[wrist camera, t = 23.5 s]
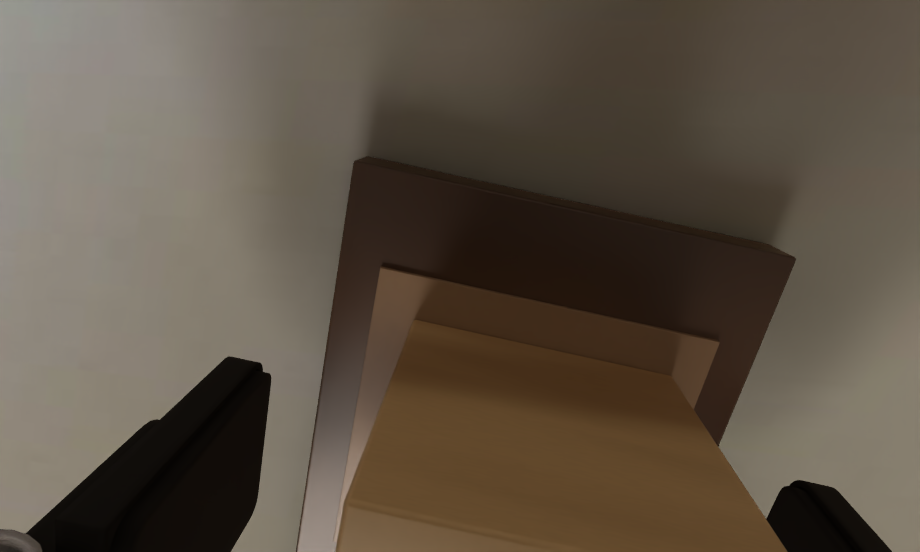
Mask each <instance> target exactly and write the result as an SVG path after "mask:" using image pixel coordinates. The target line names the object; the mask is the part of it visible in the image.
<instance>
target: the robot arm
mask: <svg viewBox="0 0 920 552" xmlns="http://www.w3.org/2000/svg"><path fill="white" fill-rule="evenodd" d="M270 387H271V375H270V373H265V372H263V368H262V365H261V363H258V362H253V361H249V360H244V359H240V358H235V357H227V358H225V359H224V360H223V361H222V362H221V363H220V364H219V365H218V366H217V367H216V368H215V369H213V370H212V371H211V372H210V373H209V374H208V375H207V376H206V377H205V378H204V379H203V380H202V381H201V382H200V383H199V384H198V385H196V386H195V387H194V388H193V389H192V390H191V391H190V392H189V393H188V394H187V395H186V396H185V397H184V398H183V399H182V400H181V401H180V402H178V403H177V404H176V405H175V406H174V407H173V408H172V409H171V410H170V411H169V412H168V413H167V414H166V415H165V416H164V417H163V418H161V419H160V420H152V421H150V422H148V423H147V424H145V425H144V426H143V427H142V428H140V429H139V430H138V431H137V432H136V433H135V434H134V435H133V436H132V437H131V438H130V439H128V440H127V441H126V442H125V443H124V444H123V445H122V446H121V447H120V448H119V449H118V450H116V451H115V452H114V453H113V454H112V455H111V456H110V457H109V458H108V459H107V460H106V461H104V462H103V463H102V464H101V465H100V466H99V467H98V468H97V469H96V470H95V471H93V472H92V473H91V474H90V475H89V476H88V477H87V478H86V479H85V480H84V481H83V482H81V483H80V484H79V485H78V486H77V487H76V488H75V489H74V490H73V491H72V492H71V493H69V494H68V495H67V496H66V497H65V498H64V499H63V500H62V501H61V502H60V503H59V504H57V505H56V506H55V507H54V508H53V509H52V510H51V511H50V512H49V513H48V514H47V515H45V516H44V517H43V518H42V519H41V520H40V521H39V522H38V523H37V524H36V525H34V526H33V527H32V528H31V529H30V530H29V531H28V532H27V533H26V534H24V533H21V532H18V531H15V530H5V529H0V552H231V550H232V549H233V547H234V545H235V543H236V542H237V540H238V538H239V537H240V535H241V533H242V532H243V530H244V528H245V526H246V525H247V523H248V521H249V520H250V518H251V516H252V514H253V511H254V508H255V506H256V502H257V498H258V490H259V482H260V473H261V464H262V456H263V447H264V438H265V430H266V421H267V412H268V404H269V395H270ZM766 520H767V521H768V523H769V524H770V526H771V527H772V529H773V531H774V532H775V534H776V535H777V537H778V538H779V540H780V541H781V543H782V544H783V546H784V547H785V549H786V550H787V552H892V551H891V550H890V549H889V548H888V547H887V545H886V544H885V543H884V542H883V541H882V540H881V539H880V538H879V536H878V535H877V534H876V533H875V532H874V531H873V530H872V529H871V528H870V526H869V525H868V524H867V523H866V522H865V521H864V520H863V519H862V517H861V516H860V515H859V514H858V513H857V512H856V511H855V510H854V508H853V507H852V506H851V505H850V504H849V503H848V502H847V501H846V500H845V498H844V497H843V496H842V495H841V494H840V493H839V492H838V491H837V490H836V489H834V488H832V487H829V486H824V485H820V484H815V483H811V482H806V481H801V480H797V481H794V482H793V483H791V484H790V486H785V487H783V488H782V489H781V490H780V492H779V494H778V496H777V498H776V500H775V502H774V504H773V506H772V509H771V511H770V513H769V515H768V517H767V519H766Z"/></svg>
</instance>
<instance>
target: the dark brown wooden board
mask: <svg viewBox="0 0 920 552" xmlns="http://www.w3.org/2000/svg"><path fill="white" fill-rule="evenodd" d="M795 261H796V258H795V257H793V256H791V255H789V254H787V253H785V252H783V251H781V250H779V249H777V248H775V247H773V246H771V245H769V244H764V243H760V242H755V241H751V240H746V239H742V238H737V237H733V236H728V235H723V234H719V233H714V232H710V231H705V230H701V229H696V228H692V227H687V226H683V225H678V224H674V223H669V222H665V221H660V220H655V219H651V218H646V217H642V216H637V215H633V214H628V213H624V212H619V211H615V210H610V209H606V208H601V207H597V206H592V205H587V204H583V203H578V202H574V201H569V200H565V199H560V198H556V197H551V196H547V195H542V194H538V193H533V192H529V191H524V190H519V189H515V188H510V187H506V186H501V185H497V184H492V183H488V182H483V181H479V180H474V179H470V178H465V177H461V176H456V175H451V174H447V173H442V172H438V171H433V170H429V169H424V168H420V167H415V166H411V165H406V164H402V163H397V162H393V161H388V160H383V159H379V158H374V157H370V156H366V157H364V158H361V159H358V160H356V161H354V163H353V170H352V177H351V184H350V190H349V197H348V204H347V211H346V217H345V224H344V231H343V238H342V244H341V251H340V258H339V265H338V271H337V278H336V285H335V292H334V298H333V305H332V312H331V319H330V325H329V332H328V339H327V346H326V352H325V359H324V366H323V372H322V379H321V386H320V393H319V399H318V406H317V413H316V420H315V426H314V433H313V440H312V447H311V453H310V460H309V467H308V474H307V480H306V487H305V494H304V501H303V507H302V514H301V521H300V528H299V534H298V541H297V548H296V552H335V550H336V545H337V539H338V533H339V528H340V522H341V516H342V511H343V505H344V501H345V498H346V495H347V493H348V490H349V487H350V485H351V482H352V480H353V477H354V474H355V472H356V469H357V466H358V464H359V461H360V459H361V456H362V453H363V451H364V448H365V445H366V443H367V440H368V438H369V435H370V432H371V430H372V427H373V424H374V422H375V419H376V417H377V414H378V411H379V409H380V406H381V403H382V401H383V398H384V396H385V393H386V390H387V388H388V385H389V382H390V380H391V377H392V375H393V372H394V369H395V367H396V364H397V361H398V359H399V356H400V353H401V351H402V348H403V346H404V343H405V340H406V338H407V335H408V332H409V330H410V327H411V325H412V322H413V321H414V320H419V321H424V322H428V323H433V324H437V325H442V326H447V327H451V328H456V329H460V330H465V331H469V332H474V333H478V334H483V335H487V336H492V337H496V338H501V339H506V340H510V341H515V342H519V343H524V344H528V345H533V346H537V347H542V348H546V349H551V350H556V351H560V352H565V353H569V354H574V355H578V356H583V357H587V358H592V359H596V360H601V361H605V362H610V363H615V364H619V365H624V366H628V367H633V368H637V369H642V370H646V371H651V372H655V373H660V374H665V375H669V376H671V377H672V378H673V379H674V381H675V382H676V384H677V385H678V387H679V388H680V390H681V391H682V393H683V394H684V396H685V397H686V399H687V400H688V402H689V403H690V405H691V406H692V408H693V409H694V411H695V412H696V414H697V415H698V417H699V418H700V420H701V421H702V423H703V425H704V426H705V428H706V429H707V431H708V432H709V434H710V435H711V437H712V438H713V440H714V441H715V443H716V444H717V446H719V443H720V441H721V439H722V436H723V434H724V431H725V429H726V427H727V424H728V422H729V419H730V417H731V415H732V412H733V410H734V407H735V405H736V403H737V400H738V398H739V395H740V393H741V391H742V388H743V386H744V383H745V381H746V379H747V376H748V374H749V371H750V369H751V367H752V364H753V362H754V359H755V357H756V355H757V352H758V350H759V347H760V345H761V343H762V340H763V338H764V335H765V333H766V331H767V328H768V326H769V323H770V321H771V318H772V316H773V314H774V311H775V309H776V306H777V304H778V302H779V299H780V297H781V294H782V292H783V290H784V287H785V285H786V282H787V280H788V278H789V275H790V273H791V270H792V268H793V266H794V263H795Z"/></svg>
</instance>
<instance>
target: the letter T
mask: <svg viewBox="0 0 920 552" xmlns="http://www.w3.org/2000/svg"><path fill="white" fill-rule="evenodd" d="M335 552H787V550H786V549H785V547H784V546H783V544H782V543H781V541H780V540H779V538H778V537H777V535H776V534H775V532H774V531H773V529H772V527H771V526H770V524H769V523H768V521H767V520H766V518H765V517H764V515H763V514H762V512H761V511H760V509H759V508H758V506H757V505H756V503H755V502H754V500H753V499H752V497H751V496H750V494H749V493H748V491H747V490H746V488H745V487H744V485H743V484H742V482H741V481H740V479H739V478H738V476H737V474H736V473H735V471H734V470H733V468H732V467H731V465H730V464H729V462H728V461H727V459H726V458H725V456H724V455H723V453H722V452H721V450H720V449H719V447H718V446H717V444H716V443H715V441H714V440H713V438H712V437H711V435H710V434H709V432H708V431H707V429H706V428H705V426H704V425H703V423H702V421H701V420H700V418H699V417H698V415H697V414H696V412H695V411H694V409H693V408H692V406H691V405H690V403H689V402H688V400H687V399H686V397H685V396H684V394H683V393H682V391H681V390H680V388H679V387H678V385H677V384H676V382H675V381H674V379H673V378H672V377H671V376H669V375H665V374H660V373H655V372H651V371H646V370H642V369H637V368H633V367H628V366H624V365H619V364H615V363H610V362H605V361H601V360H596V359H592V358H587V357H583V356H578V355H574V354H569V353H565V352H560V351H556V350H551V349H546V348H542V347H537V346H533V345H528V344H524V343H519V342H515V341H510V340H506V339H501V338H496V337H492V336H487V335H483V334H478V333H474V332H469V331H465V330H460V329H456V328H451V327H447V326H442V325H437V324H433V323H428V322H424V321H419V320H414V321H413V322H412V325H411V327H410V330H409V332H408V335H407V338H406V340H405V343H404V346H403V348H402V351H401V353H400V356H399V359H398V361H397V364H396V367H395V369H394V372H393V375H392V377H391V380H390V382H389V385H388V388H387V390H386V393H385V396H384V398H383V401H382V403H381V406H380V409H379V411H378V414H377V417H376V419H375V422H374V424H373V427H372V430H371V432H370V435H369V438H368V440H367V443H366V445H365V448H364V451H363V453H362V456H361V459H360V461H359V464H358V466H357V469H356V472H355V474H354V477H353V480H352V482H351V485H350V487H349V490H348V493H347V495H346V498H345V501H344V505H343V511H342V516H341V522H340V528H339V533H338V539H337V545H336V550H335Z"/></svg>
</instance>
